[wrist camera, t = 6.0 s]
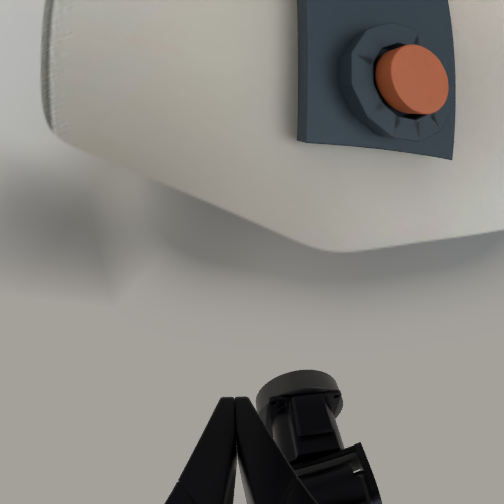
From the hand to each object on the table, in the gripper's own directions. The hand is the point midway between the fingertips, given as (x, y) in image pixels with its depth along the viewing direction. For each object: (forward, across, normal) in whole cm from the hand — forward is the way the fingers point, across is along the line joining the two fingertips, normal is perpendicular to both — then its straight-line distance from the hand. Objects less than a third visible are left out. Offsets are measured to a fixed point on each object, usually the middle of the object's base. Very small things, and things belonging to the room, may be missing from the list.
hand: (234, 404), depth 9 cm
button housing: (+12, -9, -13) cm, 20 cm away
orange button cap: (+8, -9, -11) cm, 16 cm away
